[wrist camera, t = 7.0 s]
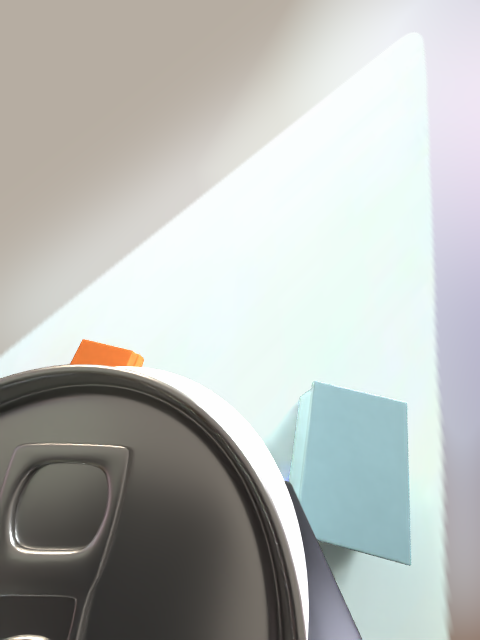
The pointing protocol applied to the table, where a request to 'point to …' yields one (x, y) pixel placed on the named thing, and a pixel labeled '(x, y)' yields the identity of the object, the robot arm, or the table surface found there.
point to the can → (141, 513)
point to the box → (354, 470)
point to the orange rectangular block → (105, 355)
